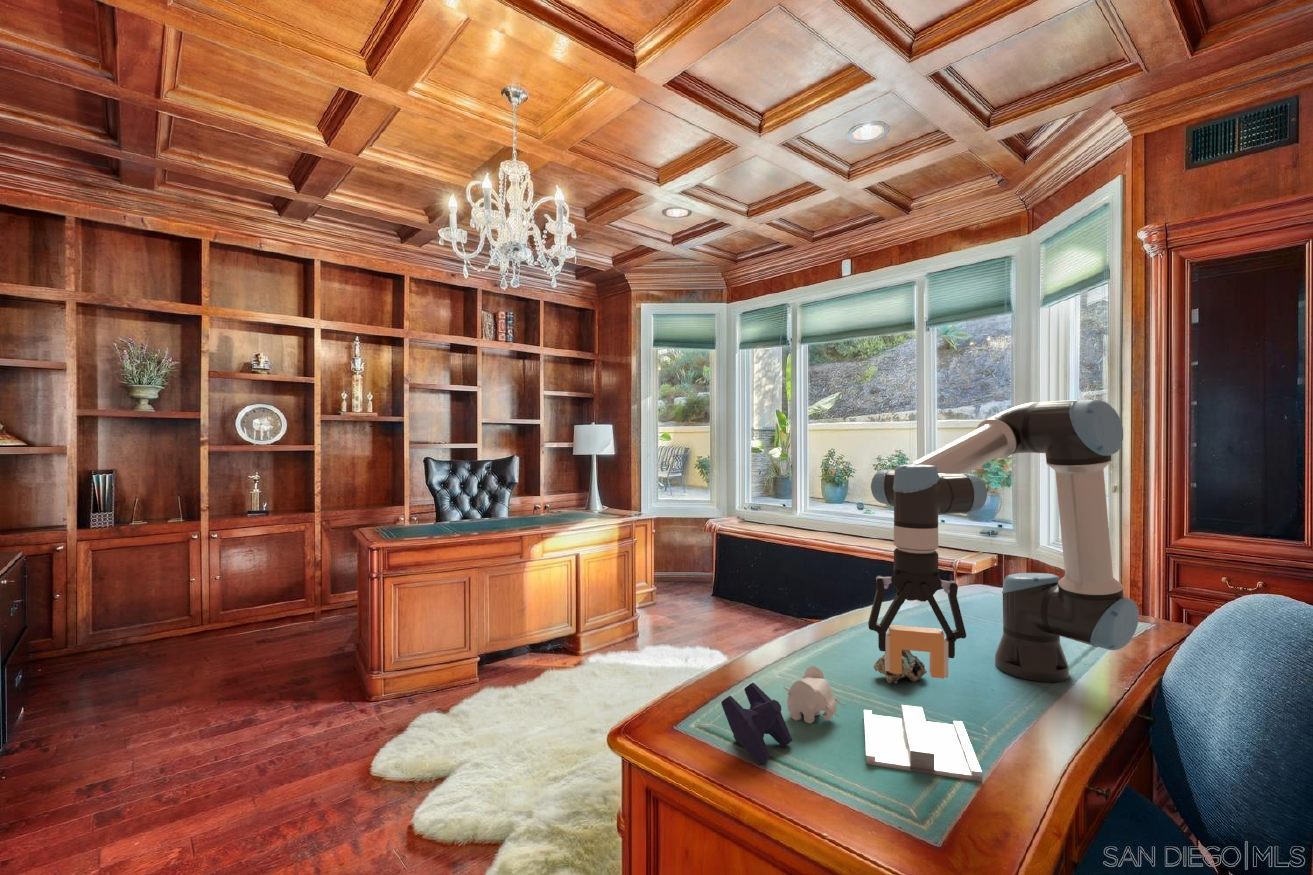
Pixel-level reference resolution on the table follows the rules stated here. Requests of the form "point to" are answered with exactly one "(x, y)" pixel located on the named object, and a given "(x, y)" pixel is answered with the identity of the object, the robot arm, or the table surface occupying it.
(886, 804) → the table surface
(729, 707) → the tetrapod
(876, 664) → the mineral specimen
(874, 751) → the rail
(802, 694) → the elephant figurine
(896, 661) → the clip
